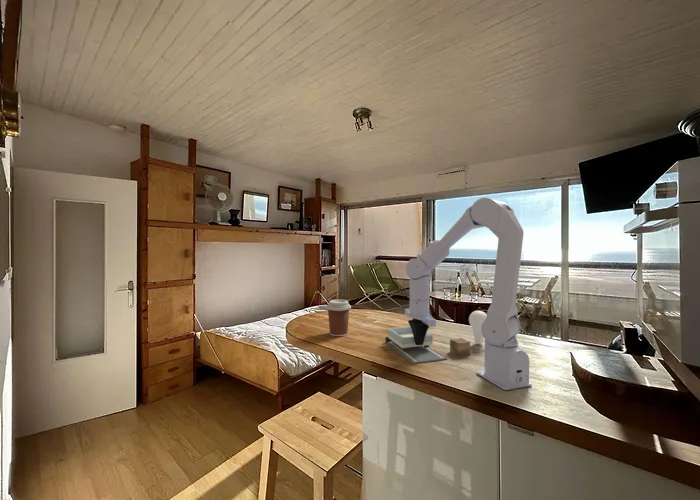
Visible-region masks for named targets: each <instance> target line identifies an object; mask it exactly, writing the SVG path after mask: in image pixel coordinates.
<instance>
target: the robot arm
mask: <svg viewBox="0 0 700 500" xmlns="http://www.w3.org/2000/svg"><path fill="white" fill-rule="evenodd" d="M484 227H485V228H488V230H489V231H491V232H492V234H493V235H494V236H496V237H497V239H498V241H497V249H496V260H495V269H494V277H493V285H492V297H491V303H490V305H489V307H488V310H487V312H486V314H487V317H486V319H485V321H484V322H483V324H482V326H481V332H482V335H483V339H484V369H482V370H477V371H476V374H478V376H480V377H482V378H483V379H486V381H489V382H491V383H492V384H493V385H495V386H497V387H499V388H500V389H502V390H504V391H508V390H514V389H519V388H525V387H531V386H532V385H533V384H532V383H533V382H532V383H531V381H530V357H529V355H528V353H527V352H525V351H524V350H522V349H521V348H520V346H519V341H518V339H517V337H516V336H517V335H518V334H519V333H520V331H521V322H520V320H519V317H518V316H519V315H518V313H519V310H518V307H517V306H516V301H517V294H518V284H519V275H520V267H521V261H522V260H521V259H522V250H523V242H524V229H523V227H522V225H521V224H520V222H519V220H518V218H517V216H516V215H515V213H514V209H513V208H512V207H510V206H509V205H508V204H507V203H506V202H504V201H500V200H495V199H493V198H490V197H481V198H479V199H477V200H475V201H474V203H473V204H472V205H471V206H469V207H467V209H465V211H464V213H463V214H462V216H461V217H459V218H458V220H457V221H456V222H455V223H454V224H453V226H451V228H450V229H449V230H448V231H447V232H446V233H445V234H444V236H442V237H441V239H439V240H437V239H434V240H432V241H429V242H428V243H427V244H426V245H427V247H425V249H424V250H423V251H422V252H421V253H417V255H416V258H411V259H409V260H408V262H407V263H406V266H405V271H406V274H407V276H408V277H409V308H405V309H404V315H405V316H406V317H407V318H409V319H408V321H407V323H408V325H409V327H411V329H412V332H413V336H414V340H415V344H416V345H423V343H424V339H425V335H426V332H428V330H429V329H430V328H431V327H437V320H436V319H435V318H434V317H433V316H432V315H431V314H430V281H431V276H432V275H433V273H434V269H435V268H436V267H438V266H439V265H440V264H441V262H443V261H444V260H445V259H446V258H448V257H449V255H450V248H452V247H453V246H454V245H455V244H456V243H457V242H459V241H460V240H461V239H462V238H463V237H464V236H466V235H467V234H468V233H469V232H470V231H472V230H474V229H479V228H484ZM410 318H411V319H410Z"/></svg>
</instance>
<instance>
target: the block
mask: <svg viewBox="0 0 700 500" xmlns="http://www.w3.org/2000/svg"><path fill="white" fill-rule="evenodd" d="M449 352H450V353H451V354H453V355H455V356H457V357H466V356H471V341H469V340H466V339H464V338H462V337H457V338H456V337H455V338H450V339H449Z"/></svg>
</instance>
